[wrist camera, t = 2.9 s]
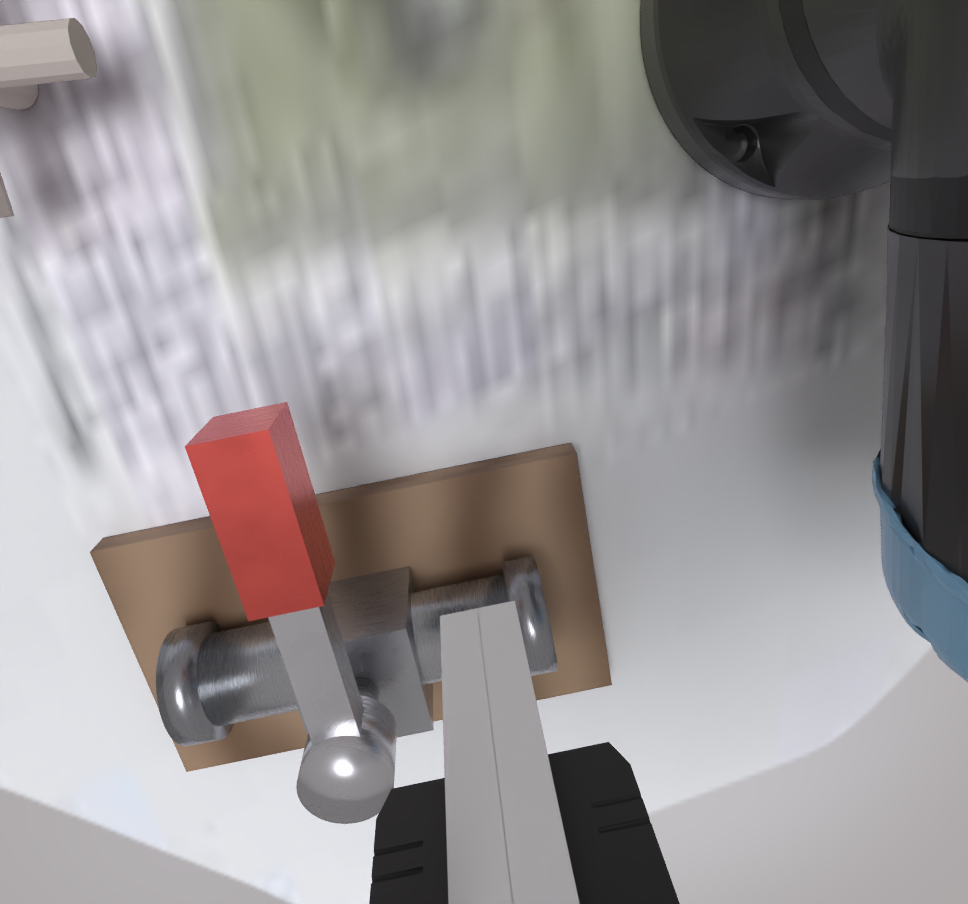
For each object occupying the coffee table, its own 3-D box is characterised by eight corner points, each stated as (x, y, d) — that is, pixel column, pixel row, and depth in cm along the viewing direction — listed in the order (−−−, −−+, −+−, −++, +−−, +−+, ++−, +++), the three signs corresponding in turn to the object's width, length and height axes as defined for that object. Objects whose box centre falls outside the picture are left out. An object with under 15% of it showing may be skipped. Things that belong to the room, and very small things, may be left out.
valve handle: (301, 399, 24) (284, 426, 22) (405, 754, 30) (403, 813, 27) (198, 420, 24) (168, 449, 22) (322, 771, 30) (311, 831, 27)
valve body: (528, 535, 36) (554, 626, 29) (545, 626, 38) (573, 734, 31) (183, 606, 36) (118, 715, 29) (218, 693, 38) (166, 817, 31)
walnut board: (570, 442, 36) (576, 453, 34) (605, 668, 41) (611, 685, 39) (103, 538, 36) (89, 552, 34) (194, 751, 41) (186, 771, 39)
